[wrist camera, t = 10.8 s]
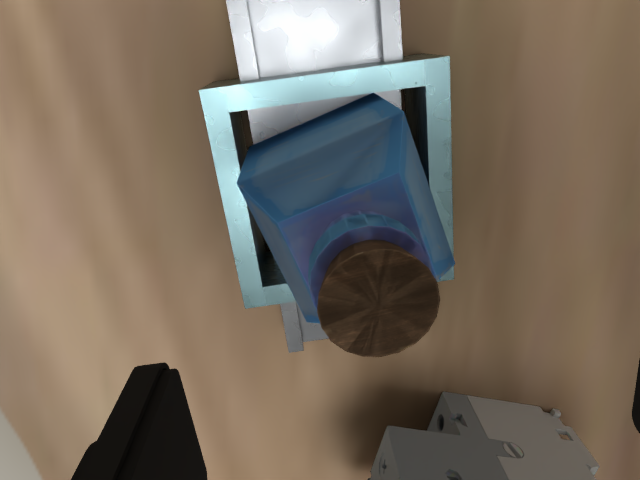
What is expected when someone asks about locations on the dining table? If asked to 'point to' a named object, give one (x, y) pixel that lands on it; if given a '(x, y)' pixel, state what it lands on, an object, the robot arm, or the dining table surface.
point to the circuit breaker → (484, 445)
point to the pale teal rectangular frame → (317, 112)
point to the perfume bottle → (352, 224)
